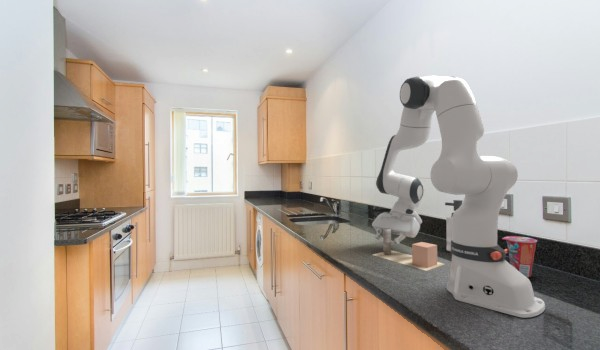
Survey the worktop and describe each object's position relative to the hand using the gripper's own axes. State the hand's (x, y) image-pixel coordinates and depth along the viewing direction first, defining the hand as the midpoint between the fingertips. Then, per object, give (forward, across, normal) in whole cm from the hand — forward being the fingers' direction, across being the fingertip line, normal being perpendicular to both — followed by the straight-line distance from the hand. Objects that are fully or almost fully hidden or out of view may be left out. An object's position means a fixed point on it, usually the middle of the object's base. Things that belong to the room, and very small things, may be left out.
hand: (386, 240), depth 118 cm
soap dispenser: (-18, +11, +28) cm, 35 cm away
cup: (-9, +39, +19) cm, 44 cm away
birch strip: (+4, +9, +5) cm, 11 cm away
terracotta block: (+3, +16, +4) cm, 17 cm away
